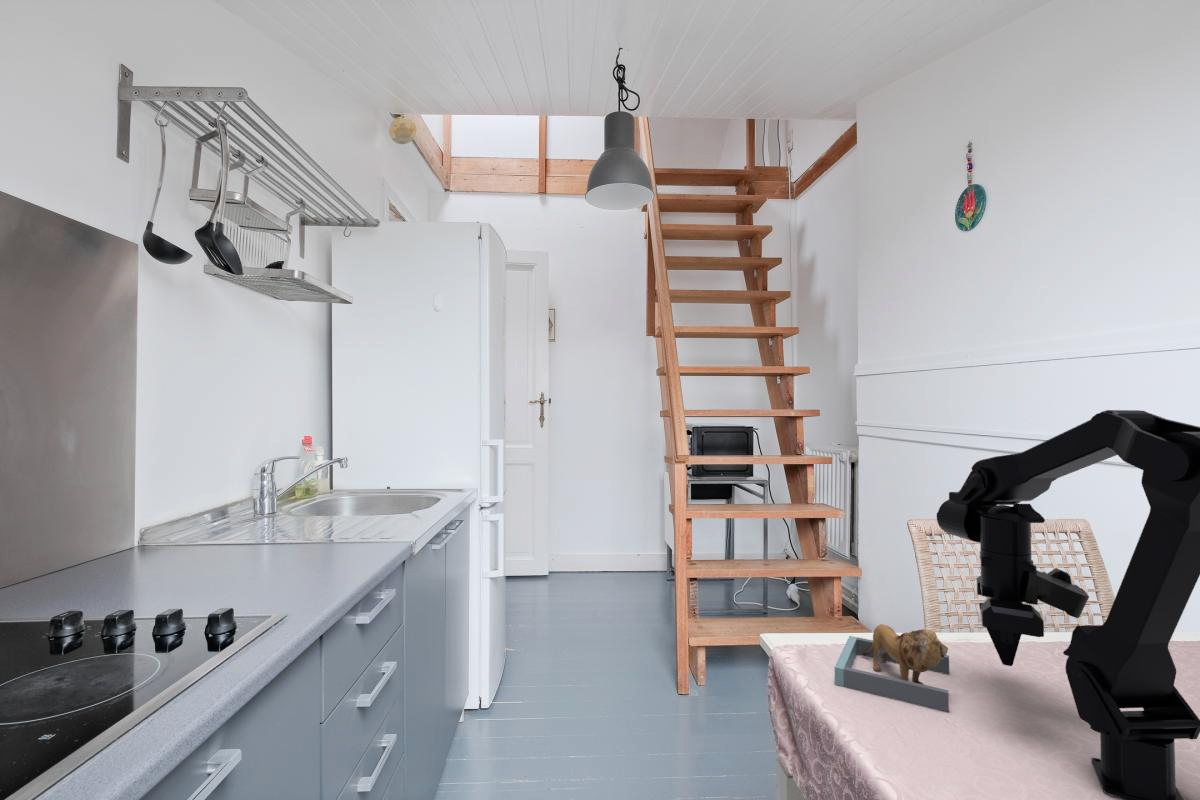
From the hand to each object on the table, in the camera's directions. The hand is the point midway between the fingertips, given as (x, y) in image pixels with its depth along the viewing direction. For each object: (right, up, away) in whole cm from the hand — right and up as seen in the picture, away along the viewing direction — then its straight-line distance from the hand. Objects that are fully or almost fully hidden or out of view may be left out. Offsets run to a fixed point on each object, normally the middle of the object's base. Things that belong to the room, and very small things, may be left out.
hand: (1007, 664), depth 76 cm
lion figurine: (-11, -6, +7) cm, 14 cm away
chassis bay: (-12, -6, +7) cm, 15 cm away
